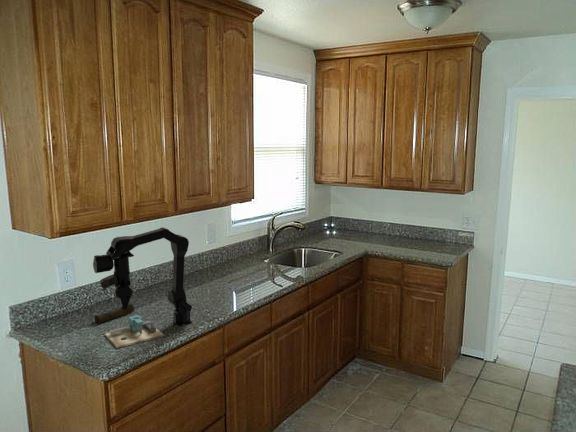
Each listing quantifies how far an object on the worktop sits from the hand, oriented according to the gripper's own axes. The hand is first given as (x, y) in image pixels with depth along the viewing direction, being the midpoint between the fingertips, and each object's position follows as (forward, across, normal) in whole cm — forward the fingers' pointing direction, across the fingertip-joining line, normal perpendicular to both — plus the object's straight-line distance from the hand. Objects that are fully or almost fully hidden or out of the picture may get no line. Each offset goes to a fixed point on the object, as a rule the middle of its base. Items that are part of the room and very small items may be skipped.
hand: (124, 305), depth 185 cm
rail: (+14, -3, +2) cm, 14 cm away
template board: (+14, +1, +3) cm, 14 cm away
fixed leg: (+13, -1, +10) cm, 16 cm away
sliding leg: (+13, -2, +4) cm, 13 cm away
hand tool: (+14, -23, -4) cm, 27 cm away
